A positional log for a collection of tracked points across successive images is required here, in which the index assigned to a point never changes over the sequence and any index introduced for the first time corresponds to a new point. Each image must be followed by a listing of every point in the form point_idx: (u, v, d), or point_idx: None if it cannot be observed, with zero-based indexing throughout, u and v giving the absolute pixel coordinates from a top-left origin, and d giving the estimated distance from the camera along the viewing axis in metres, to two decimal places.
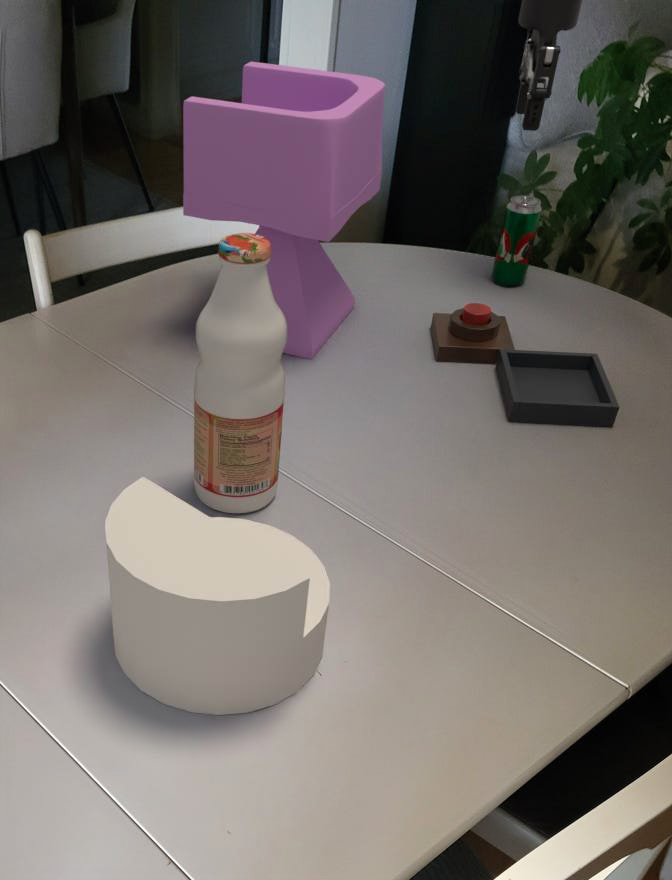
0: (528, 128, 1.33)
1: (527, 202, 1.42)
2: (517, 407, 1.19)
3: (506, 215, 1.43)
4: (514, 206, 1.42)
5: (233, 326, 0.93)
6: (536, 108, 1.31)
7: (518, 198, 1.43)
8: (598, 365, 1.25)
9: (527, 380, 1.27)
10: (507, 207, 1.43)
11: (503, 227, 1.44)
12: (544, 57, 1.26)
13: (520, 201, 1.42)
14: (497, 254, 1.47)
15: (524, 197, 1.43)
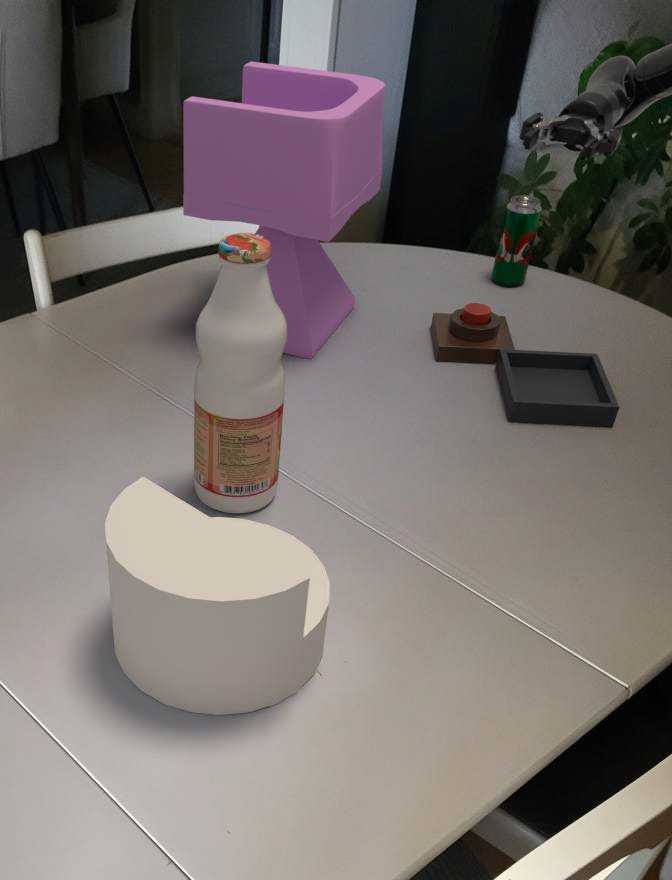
0: (526, 143, 1.48)
1: (527, 202, 1.42)
2: (517, 407, 1.19)
3: (506, 215, 1.43)
4: (514, 206, 1.42)
5: (233, 325, 0.93)
6: None
7: (518, 198, 1.43)
8: (598, 365, 1.25)
9: (527, 380, 1.27)
10: (507, 207, 1.43)
11: (503, 227, 1.44)
12: None
13: (520, 201, 1.42)
14: (497, 254, 1.47)
15: (524, 197, 1.43)
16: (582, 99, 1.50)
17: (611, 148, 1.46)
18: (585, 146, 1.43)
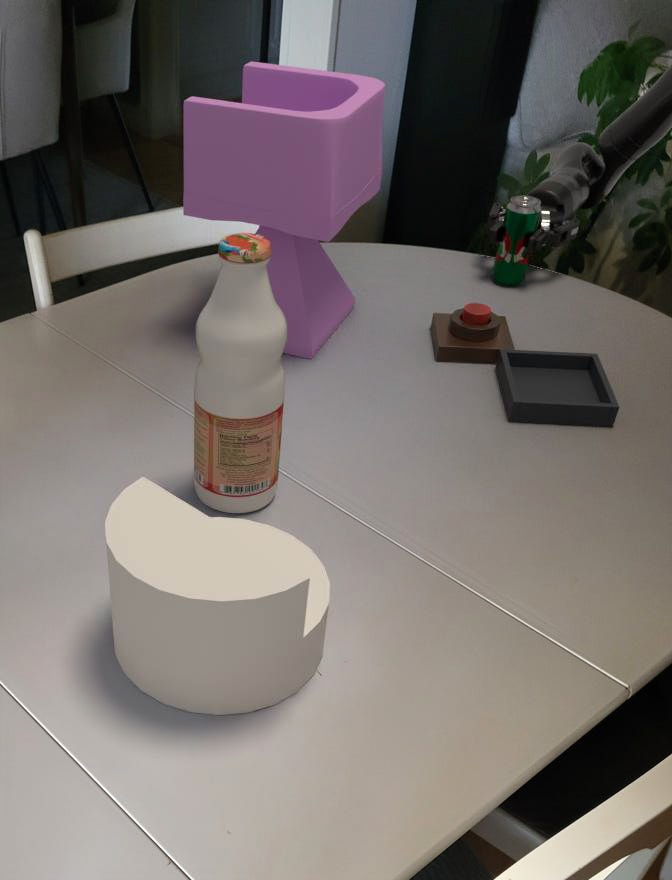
0: (491, 237, 1.46)
1: (527, 202, 1.42)
2: (517, 407, 1.19)
3: (506, 215, 1.43)
4: (514, 206, 1.42)
5: (233, 325, 0.93)
6: None
7: (518, 198, 1.43)
8: (598, 365, 1.25)
9: (527, 380, 1.27)
10: (507, 207, 1.43)
11: (503, 227, 1.44)
12: None
13: (520, 201, 1.42)
14: (497, 254, 1.47)
15: (524, 197, 1.43)
16: (542, 189, 1.49)
17: (557, 239, 1.45)
18: (531, 238, 1.42)
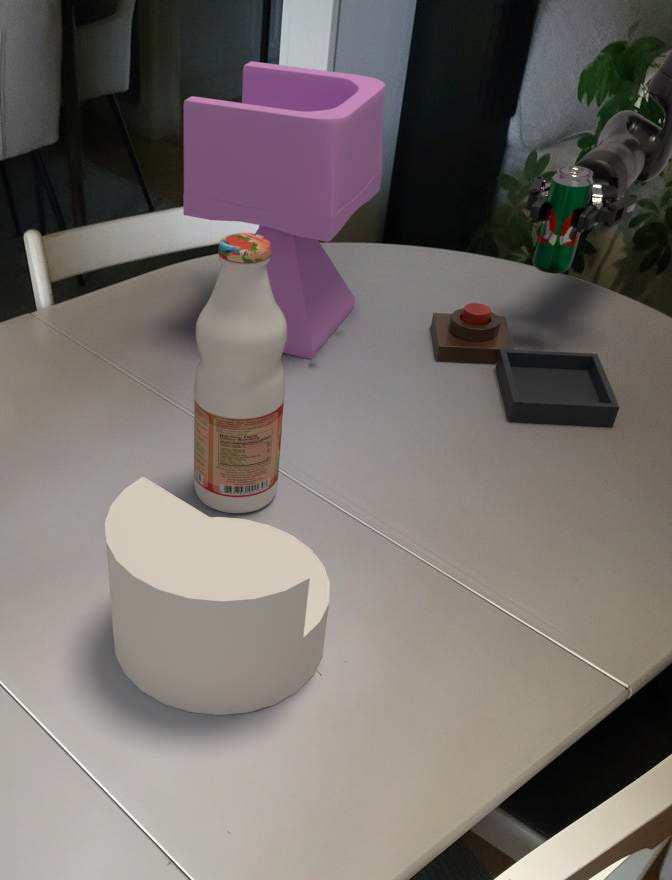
0: (533, 216, 1.24)
1: (577, 173, 1.20)
2: (517, 407, 1.19)
3: (551, 189, 1.21)
4: (561, 178, 1.20)
5: (233, 325, 0.93)
6: None
7: (565, 169, 1.21)
8: (598, 365, 1.25)
9: (527, 380, 1.27)
10: (553, 179, 1.21)
11: (547, 203, 1.23)
12: None
13: (568, 172, 1.20)
14: (540, 235, 1.25)
15: (573, 167, 1.21)
16: (591, 159, 1.27)
17: (611, 217, 1.23)
18: (581, 216, 1.20)
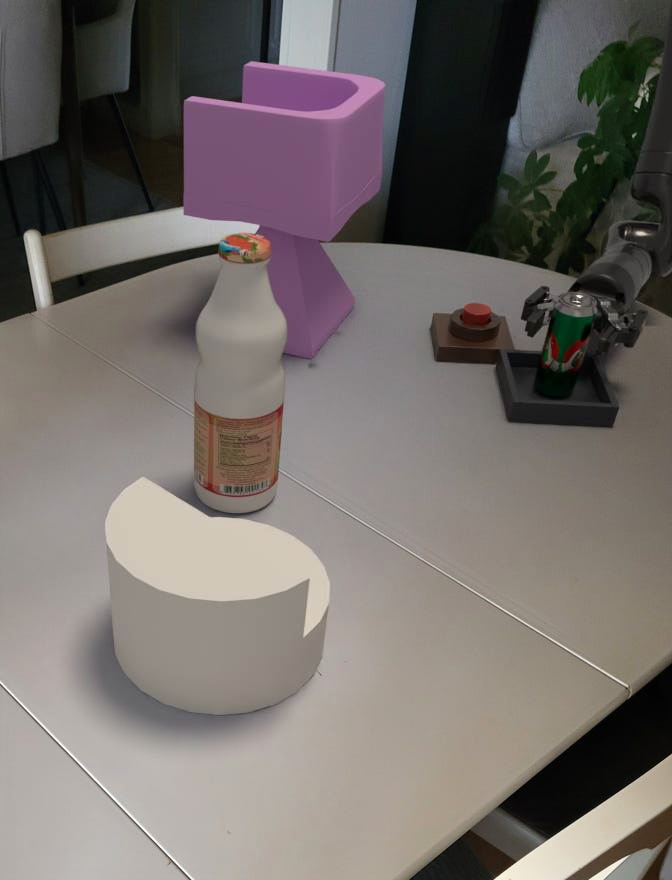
0: None
1: (580, 302, 1.16)
2: (517, 407, 1.19)
3: (554, 317, 1.17)
4: (564, 307, 1.16)
5: (233, 325, 0.93)
6: None
7: (568, 297, 1.17)
8: (598, 365, 1.25)
9: (527, 380, 1.27)
10: (555, 307, 1.17)
11: (549, 330, 1.19)
12: None
13: (571, 301, 1.16)
14: (541, 360, 1.22)
15: (576, 295, 1.18)
16: (597, 273, 1.23)
17: (634, 339, 1.18)
18: (602, 340, 1.16)
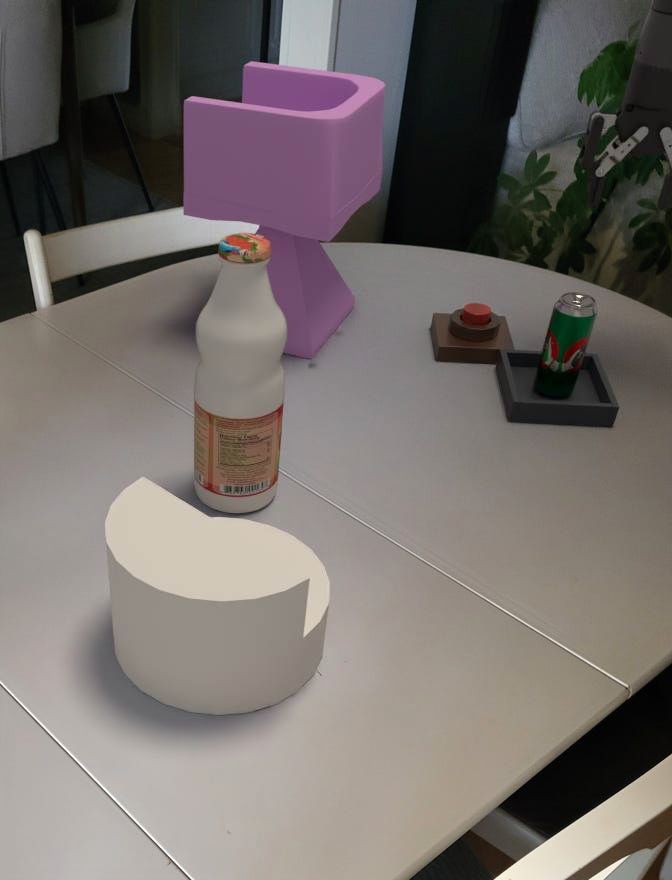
0: (590, 203, 1.20)
1: (580, 302, 1.16)
2: (517, 407, 1.19)
3: (554, 317, 1.17)
4: (564, 307, 1.16)
5: (233, 325, 0.93)
6: None
7: (568, 296, 1.17)
8: (598, 365, 1.25)
9: (527, 380, 1.27)
10: (555, 307, 1.17)
11: (549, 330, 1.19)
12: (589, 123, 1.15)
13: (571, 301, 1.16)
14: (541, 360, 1.22)
15: (576, 295, 1.18)
16: (659, 107, 1.09)
17: None
18: (662, 210, 1.19)
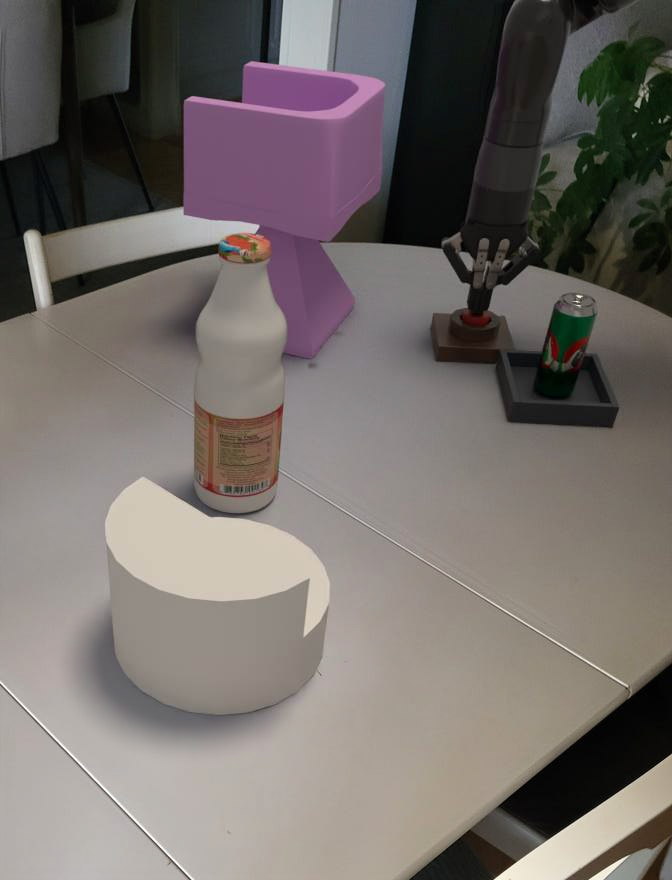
0: (471, 309, 1.32)
1: (580, 302, 1.16)
2: (517, 407, 1.19)
3: (554, 317, 1.17)
4: (564, 307, 1.16)
5: (233, 325, 0.93)
6: None
7: (568, 296, 1.17)
8: (598, 365, 1.25)
9: (527, 380, 1.27)
10: (555, 307, 1.17)
11: (549, 330, 1.19)
12: None
13: (571, 301, 1.16)
14: (541, 360, 1.22)
15: (576, 295, 1.18)
16: (495, 223, 1.20)
17: None
18: (479, 314, 1.31)
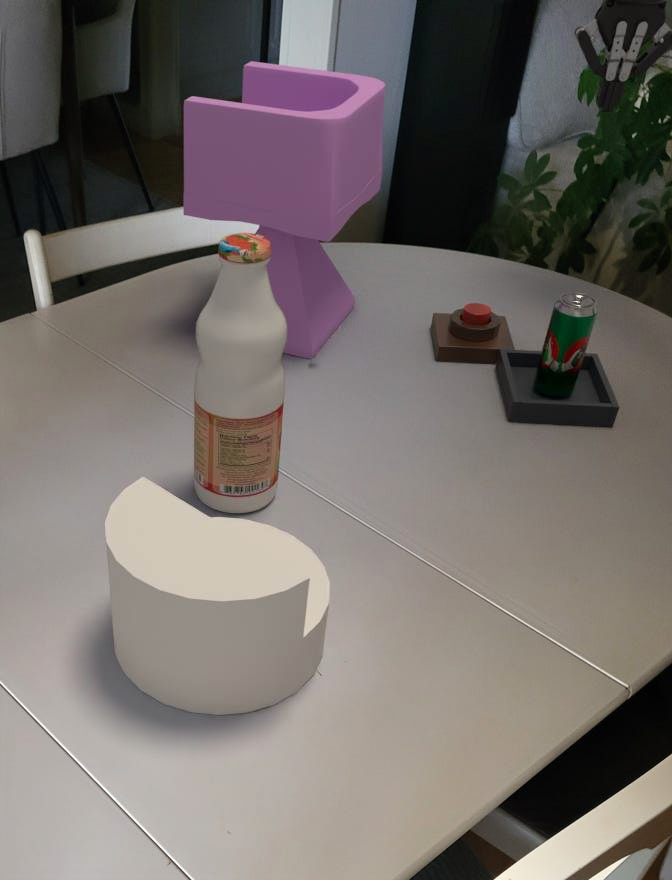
0: (599, 107, 1.31)
1: (580, 302, 1.16)
2: (517, 407, 1.19)
3: (554, 317, 1.17)
4: (564, 307, 1.16)
5: (233, 325, 0.93)
6: None
7: (568, 296, 1.17)
8: (598, 365, 1.25)
9: (527, 380, 1.27)
10: (555, 307, 1.17)
11: (549, 330, 1.19)
12: (577, 40, 1.26)
13: (571, 301, 1.16)
14: (541, 360, 1.22)
15: (576, 295, 1.18)
16: (636, 0, 1.19)
17: None
18: (608, 111, 1.30)
